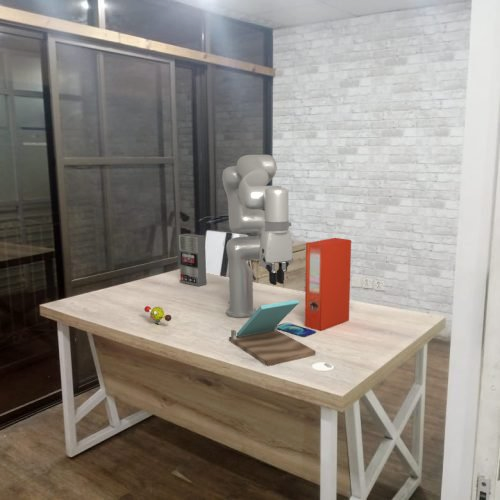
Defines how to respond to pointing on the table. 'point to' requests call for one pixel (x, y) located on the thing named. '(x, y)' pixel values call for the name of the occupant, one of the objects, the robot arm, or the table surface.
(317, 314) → the file binder
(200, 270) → the cassette tape recorder
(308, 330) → the smartphone
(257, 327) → the plate
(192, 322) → the table surface
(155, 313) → the molecule model
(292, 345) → the press base
